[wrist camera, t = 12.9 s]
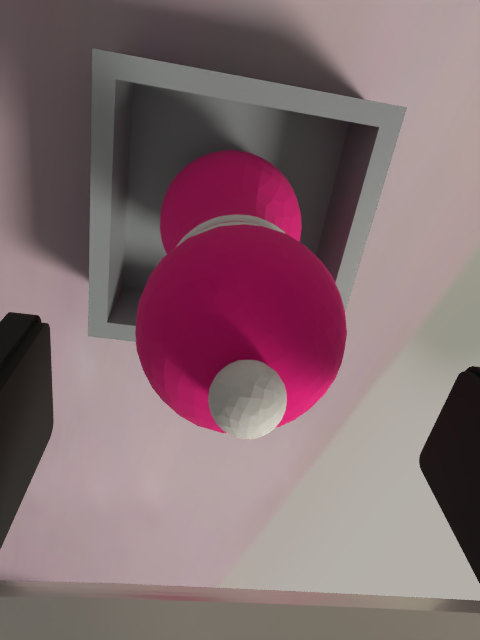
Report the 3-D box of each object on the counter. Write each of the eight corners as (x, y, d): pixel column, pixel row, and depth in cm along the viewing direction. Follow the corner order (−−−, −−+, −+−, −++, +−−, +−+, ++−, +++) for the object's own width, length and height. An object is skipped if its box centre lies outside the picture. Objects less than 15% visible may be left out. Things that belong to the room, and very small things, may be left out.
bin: (118, 55, 24) (92, 48, 19) (367, 102, 26) (406, 107, 21) (109, 292, 31) (88, 336, 25) (310, 317, 32) (329, 363, 27)
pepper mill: (204, 281, 29) (185, 575, 12) (145, 178, 26) (-7, 365, 9) (307, 230, 28) (460, 473, 10) (256, 117, 25) (351, 185, 7)
